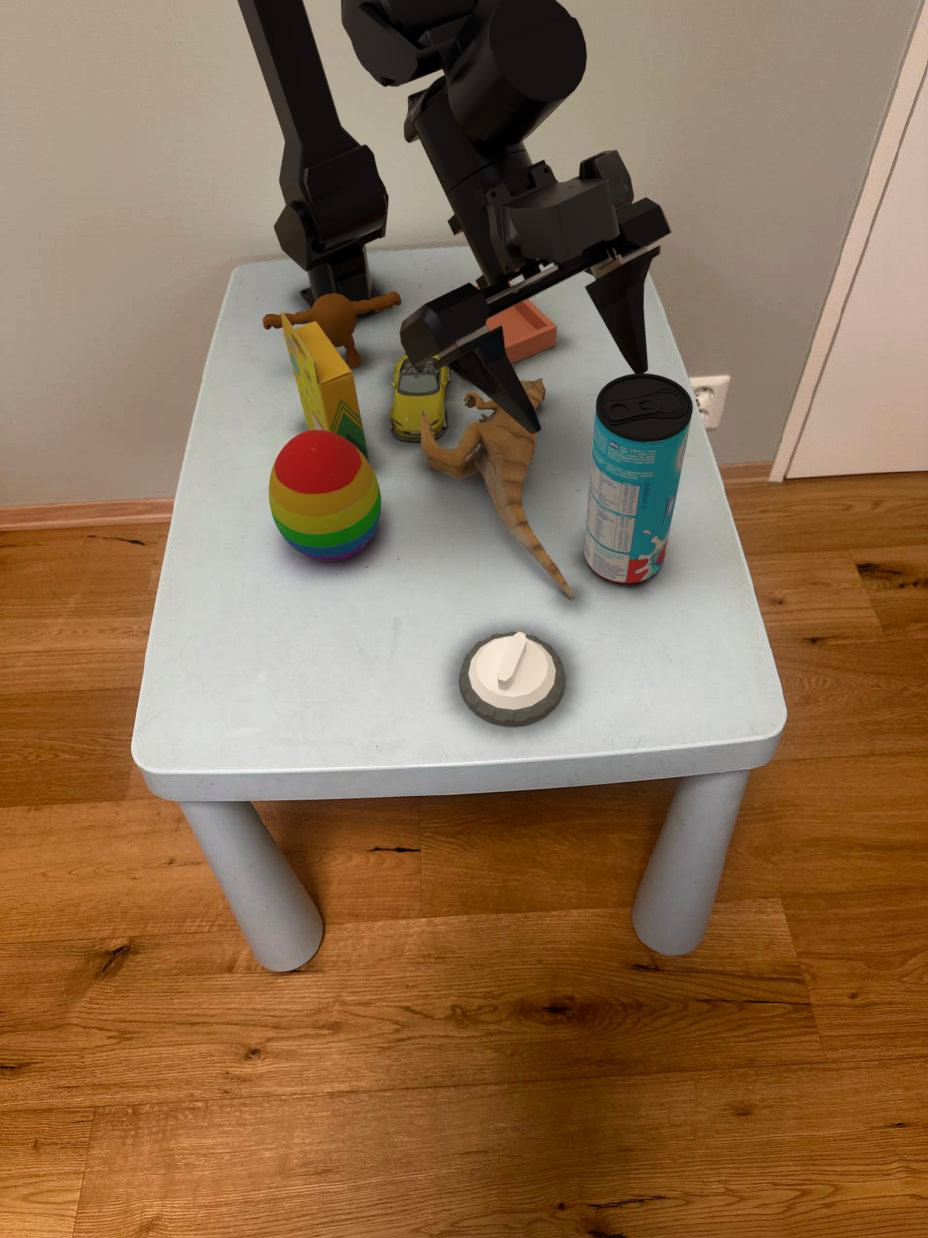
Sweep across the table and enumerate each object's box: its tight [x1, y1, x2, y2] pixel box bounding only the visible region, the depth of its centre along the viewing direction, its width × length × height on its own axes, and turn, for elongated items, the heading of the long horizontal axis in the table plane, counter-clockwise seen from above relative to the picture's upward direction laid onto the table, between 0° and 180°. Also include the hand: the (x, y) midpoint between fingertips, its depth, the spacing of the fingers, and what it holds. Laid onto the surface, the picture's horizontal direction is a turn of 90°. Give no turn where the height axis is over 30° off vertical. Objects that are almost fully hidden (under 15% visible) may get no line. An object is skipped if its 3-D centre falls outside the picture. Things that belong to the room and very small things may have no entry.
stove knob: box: [458, 631, 566, 727], centre depth 63 cm, size 7×7×3 cm
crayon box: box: [280, 310, 370, 463], centre depth 73 cm, size 7×3×12 cm, turn 27°
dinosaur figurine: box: [420, 377, 574, 601], centre depth 72 cm, size 7×22×12 cm
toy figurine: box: [262, 290, 403, 369], centre depth 81 cm, size 12×4×7 cm, turn 102°
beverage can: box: [583, 372, 694, 586], centre depth 63 cm, size 6×6×15 cm
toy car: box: [388, 352, 453, 442], centre depth 79 cm, size 5×10×3 cm, turn 178°
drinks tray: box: [474, 281, 558, 365], centre depth 85 cm, size 9×9×2 cm
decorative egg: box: [268, 430, 382, 562], centre depth 68 cm, size 8×8×10 cm
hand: (590, 402), depth 62 cm, fingers open, 9 cm apart
